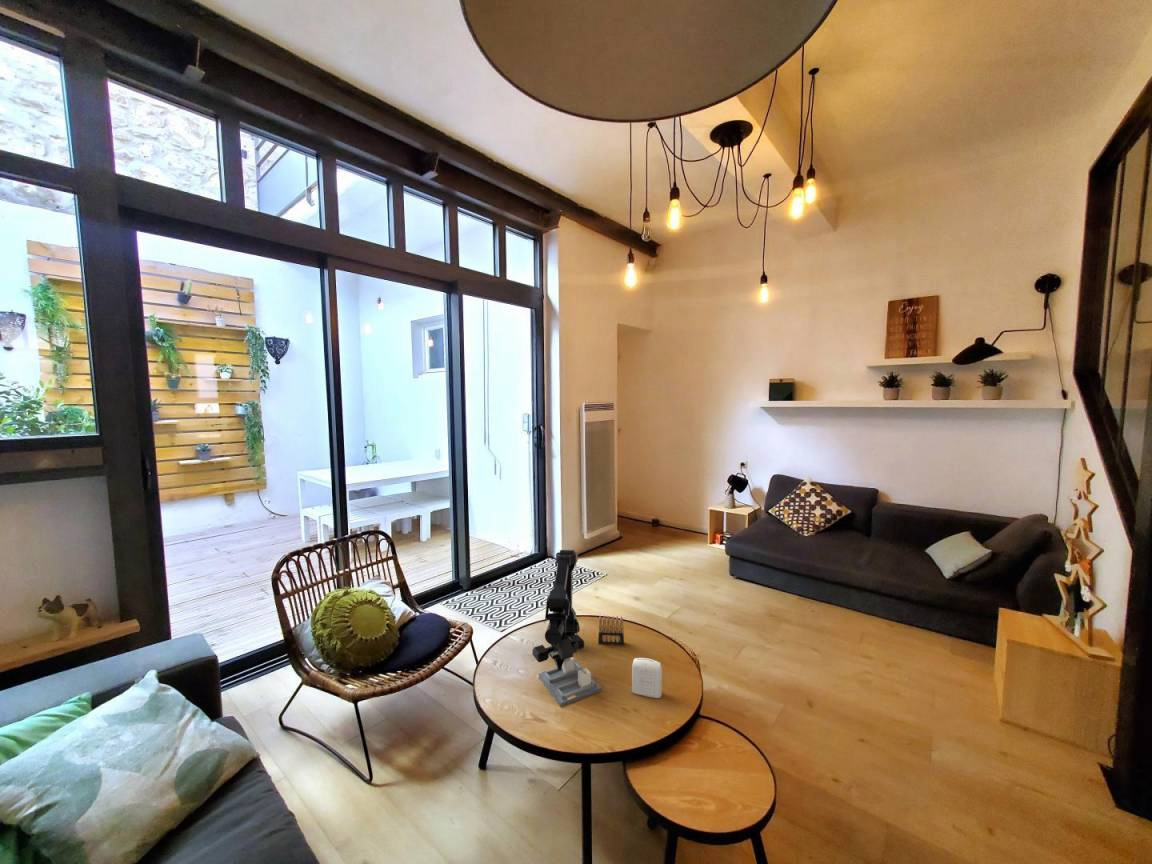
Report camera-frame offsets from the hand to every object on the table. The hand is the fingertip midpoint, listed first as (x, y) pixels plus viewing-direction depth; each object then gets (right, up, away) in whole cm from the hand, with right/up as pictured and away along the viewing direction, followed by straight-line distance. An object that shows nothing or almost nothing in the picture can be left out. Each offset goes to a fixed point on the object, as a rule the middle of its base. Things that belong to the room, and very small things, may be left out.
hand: (559, 669), depth 163 cm
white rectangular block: (+3, -1, +2) cm, 4 cm away
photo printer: (+31, -3, -9) cm, 32 cm away
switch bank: (+4, -3, -4) cm, 6 cm away
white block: (+9, -2, -6) cm, 11 cm away
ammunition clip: (+21, -1, +22) cm, 30 cm away
